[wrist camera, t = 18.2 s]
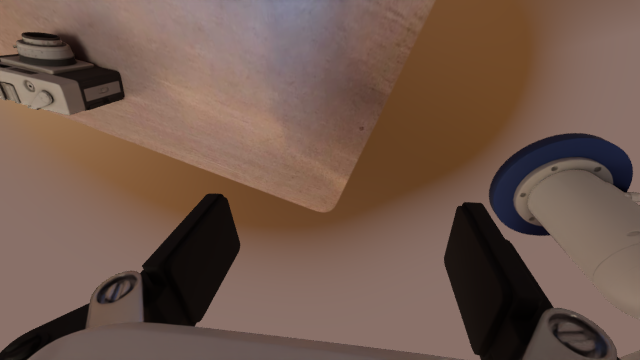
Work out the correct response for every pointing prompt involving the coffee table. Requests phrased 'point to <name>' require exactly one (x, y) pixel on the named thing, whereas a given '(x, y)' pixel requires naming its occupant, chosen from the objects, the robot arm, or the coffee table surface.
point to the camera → (55, 77)
